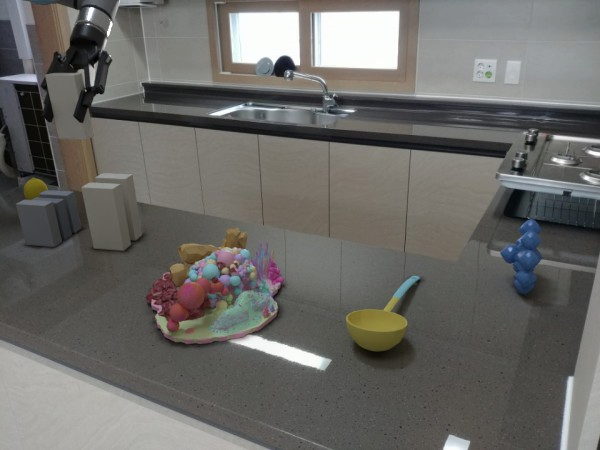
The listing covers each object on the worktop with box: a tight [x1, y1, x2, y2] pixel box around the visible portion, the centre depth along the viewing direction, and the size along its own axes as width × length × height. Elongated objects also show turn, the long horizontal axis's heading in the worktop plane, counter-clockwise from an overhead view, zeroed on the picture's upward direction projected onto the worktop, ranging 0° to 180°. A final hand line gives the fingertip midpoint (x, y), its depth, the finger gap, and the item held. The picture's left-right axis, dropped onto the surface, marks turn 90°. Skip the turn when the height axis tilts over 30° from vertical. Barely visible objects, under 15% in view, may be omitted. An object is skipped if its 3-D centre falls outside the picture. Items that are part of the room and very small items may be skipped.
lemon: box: [23, 177, 49, 200], centre depth 133 cm, size 6×6×8 cm
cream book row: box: [81, 172, 143, 252], centre depth 112 cm, size 8×7×14 cm
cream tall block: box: [44, 72, 95, 141], centre depth 118 cm, size 3×7×14 cm, turn 77°
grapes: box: [499, 218, 544, 295], centre depth 91 cm, size 12×7×12 cm, turn 160°
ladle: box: [345, 275, 421, 352], centre depth 85 cm, size 9×26×6 cm, turn 153°
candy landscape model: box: [145, 227, 285, 345], centre depth 90 cm, size 25×24×9 cm
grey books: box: [15, 189, 82, 248], centre depth 117 cm, size 10×7×9 cm
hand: (62, 119), depth 116 cm, fingers closed on cream tall block, 7 cm apart
